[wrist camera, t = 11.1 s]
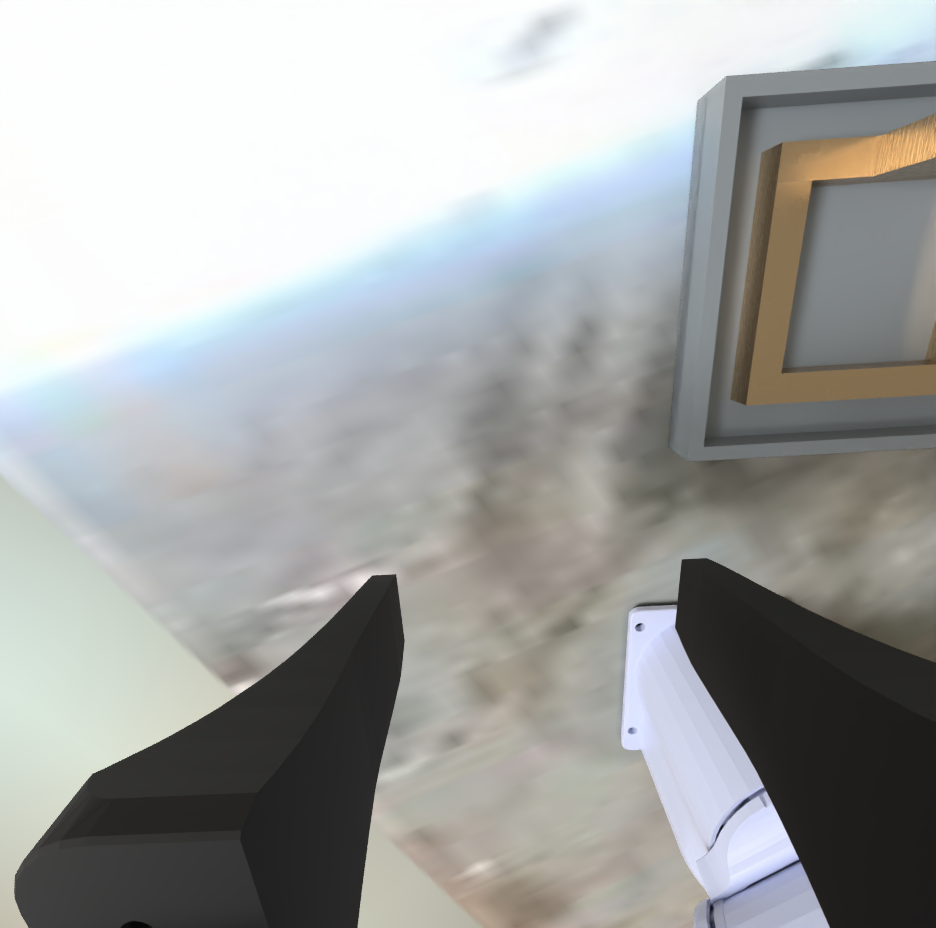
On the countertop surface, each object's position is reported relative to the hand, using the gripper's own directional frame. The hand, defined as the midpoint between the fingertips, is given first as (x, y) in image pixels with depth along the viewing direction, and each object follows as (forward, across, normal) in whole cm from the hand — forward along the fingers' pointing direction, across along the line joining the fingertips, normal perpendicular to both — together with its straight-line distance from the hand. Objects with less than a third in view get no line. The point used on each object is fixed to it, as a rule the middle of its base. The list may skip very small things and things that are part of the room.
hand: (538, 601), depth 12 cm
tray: (+10, -14, -7) cm, 19 cm away
